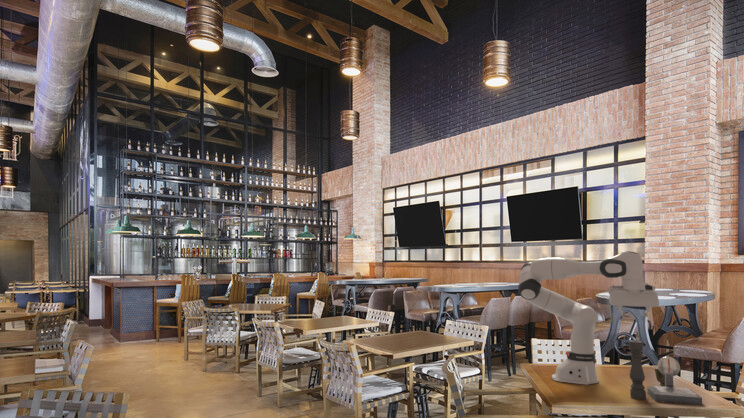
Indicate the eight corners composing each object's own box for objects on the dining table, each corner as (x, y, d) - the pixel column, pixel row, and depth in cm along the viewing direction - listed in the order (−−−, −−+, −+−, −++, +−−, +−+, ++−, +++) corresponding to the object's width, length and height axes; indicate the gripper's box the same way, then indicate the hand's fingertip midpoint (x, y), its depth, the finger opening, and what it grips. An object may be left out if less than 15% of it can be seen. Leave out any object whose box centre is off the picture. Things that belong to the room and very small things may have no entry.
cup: (675, 388, 235) (674, 371, 235) (659, 387, 236) (658, 371, 237) (669, 384, 242) (668, 368, 243) (653, 384, 243) (652, 367, 244)
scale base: (655, 401, 214) (653, 360, 216) (647, 392, 227) (645, 354, 229) (702, 404, 208) (699, 363, 210) (691, 396, 222) (689, 357, 224)
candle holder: (645, 400, 215) (642, 342, 218) (630, 398, 218) (627, 341, 221) (646, 396, 220) (643, 340, 223) (631, 394, 224) (628, 339, 226)
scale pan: (660, 394, 213) (660, 391, 214) (653, 388, 224) (653, 385, 224) (696, 397, 209) (696, 394, 209) (688, 390, 220) (688, 388, 220)
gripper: (609, 285, 225) (610, 316, 223) (659, 286, 219) (660, 317, 217) (607, 285, 231) (608, 314, 229) (655, 286, 225) (656, 316, 223)
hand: (634, 316), depth 223 cm, fingers open, 8 cm apart
